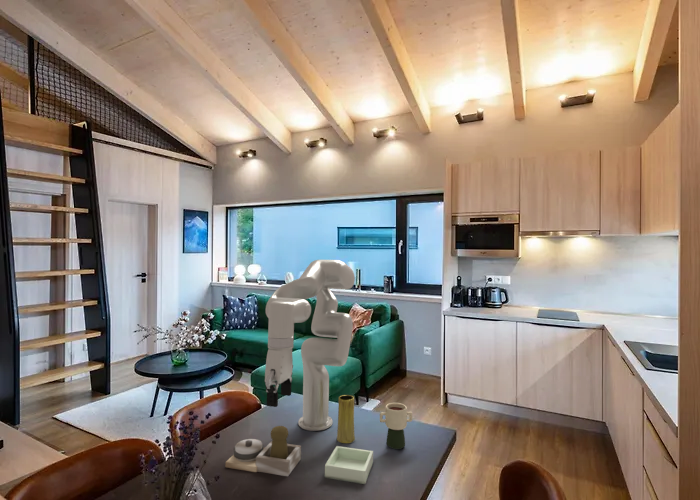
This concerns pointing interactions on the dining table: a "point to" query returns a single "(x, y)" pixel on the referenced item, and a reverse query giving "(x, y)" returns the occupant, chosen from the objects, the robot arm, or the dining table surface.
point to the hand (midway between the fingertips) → (279, 400)
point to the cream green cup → (396, 424)
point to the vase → (346, 419)
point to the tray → (349, 464)
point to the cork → (279, 442)
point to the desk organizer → (262, 458)
